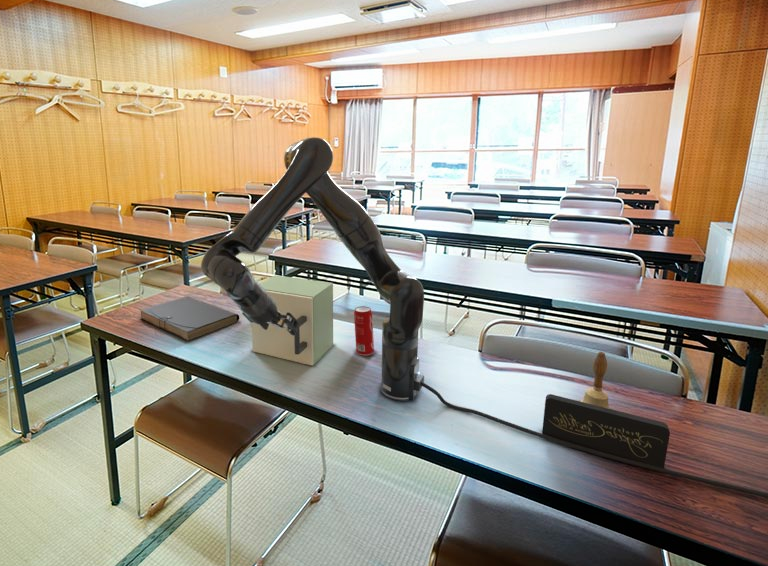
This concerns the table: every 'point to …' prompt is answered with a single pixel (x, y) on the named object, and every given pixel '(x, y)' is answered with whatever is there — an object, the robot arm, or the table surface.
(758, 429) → the table surface
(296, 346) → the door
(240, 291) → the robot arm
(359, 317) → the beverage can
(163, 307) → the file folder
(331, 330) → the cupboard
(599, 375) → the hand bell
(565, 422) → the nameplate
